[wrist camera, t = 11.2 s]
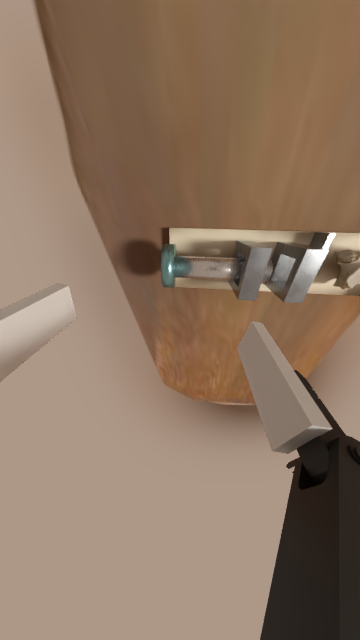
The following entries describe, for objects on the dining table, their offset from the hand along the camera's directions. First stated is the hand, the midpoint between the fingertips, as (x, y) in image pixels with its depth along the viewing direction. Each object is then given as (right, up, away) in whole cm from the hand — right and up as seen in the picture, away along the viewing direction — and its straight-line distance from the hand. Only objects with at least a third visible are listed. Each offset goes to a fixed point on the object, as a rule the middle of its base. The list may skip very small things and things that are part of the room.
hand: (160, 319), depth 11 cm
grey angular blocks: (+23, +10, +16) cm, 30 cm away
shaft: (+7, +10, +15) cm, 19 cm away
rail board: (+18, +10, +16) cm, 26 cm away
